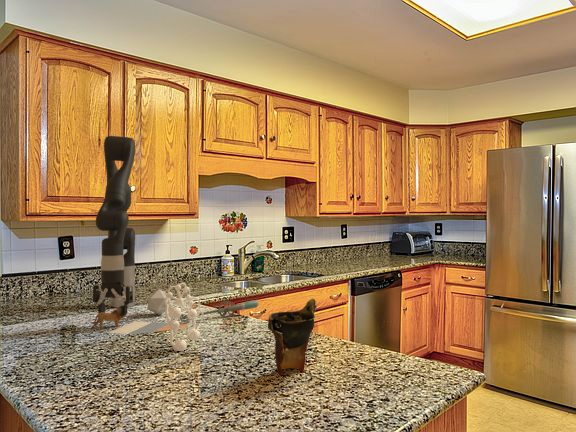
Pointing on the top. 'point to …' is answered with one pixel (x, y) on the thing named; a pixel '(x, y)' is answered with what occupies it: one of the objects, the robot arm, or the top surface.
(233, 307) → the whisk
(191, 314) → the molecule model
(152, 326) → the track board
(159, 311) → the die
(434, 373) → the top surface
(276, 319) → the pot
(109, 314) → the lion figurine
